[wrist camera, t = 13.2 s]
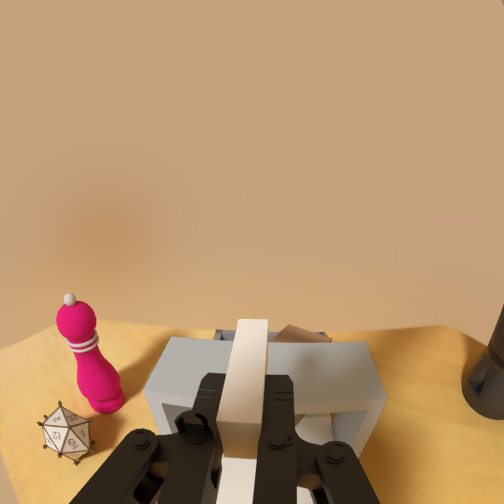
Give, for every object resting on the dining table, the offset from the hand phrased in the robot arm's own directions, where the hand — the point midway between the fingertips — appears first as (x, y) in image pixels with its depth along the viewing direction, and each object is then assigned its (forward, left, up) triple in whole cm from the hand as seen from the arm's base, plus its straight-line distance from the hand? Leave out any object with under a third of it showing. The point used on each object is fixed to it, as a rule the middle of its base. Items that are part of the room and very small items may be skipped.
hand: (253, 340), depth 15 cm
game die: (+16, -20, -26) cm, 36 cm away
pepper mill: (+8, -28, -26) cm, 39 cm away
